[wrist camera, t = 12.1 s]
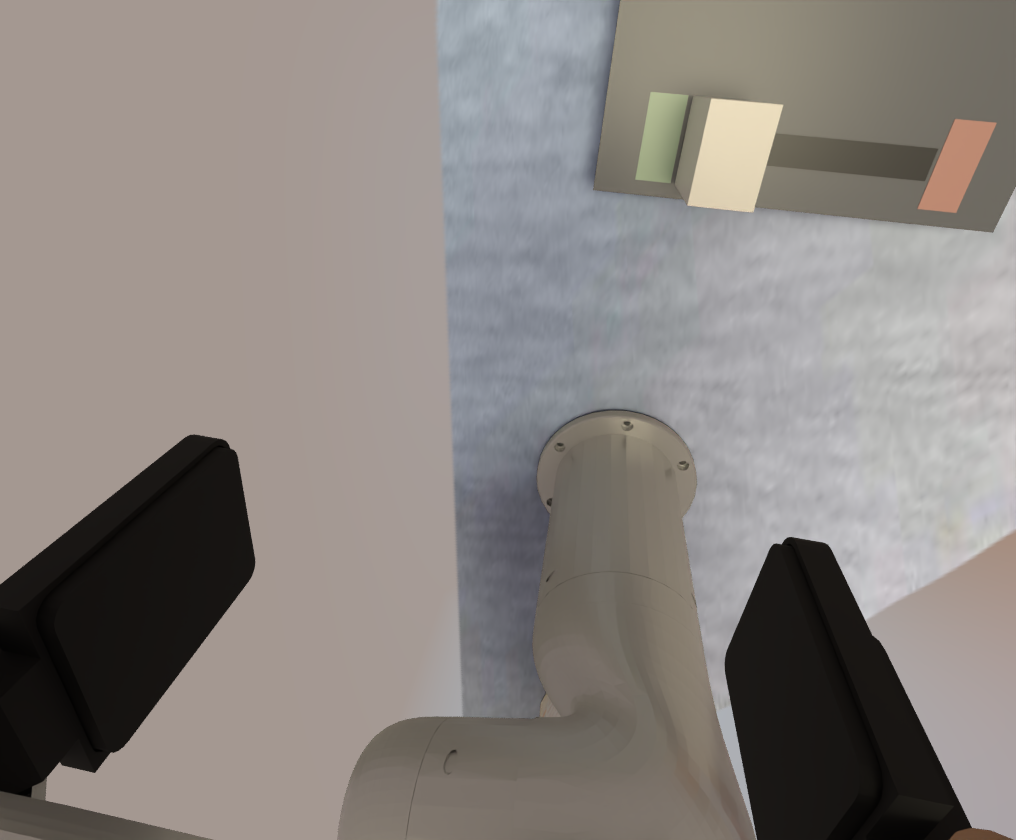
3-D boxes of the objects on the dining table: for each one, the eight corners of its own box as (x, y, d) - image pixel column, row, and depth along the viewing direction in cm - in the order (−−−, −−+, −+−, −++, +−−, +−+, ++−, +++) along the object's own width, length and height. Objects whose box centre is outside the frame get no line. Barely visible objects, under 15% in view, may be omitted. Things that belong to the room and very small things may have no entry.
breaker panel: (964, 221, 34) (993, 232, 32) (594, 182, 36) (593, 190, 34) (1162, -206, 25) (1226, -240, 23) (652, -225, 27) (656, -258, 25)
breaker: (728, 190, 32) (753, 212, 27) (674, 184, 33) (687, 205, 27) (751, 100, 30) (783, 104, 25) (693, 95, 30) (711, 98, 25)
